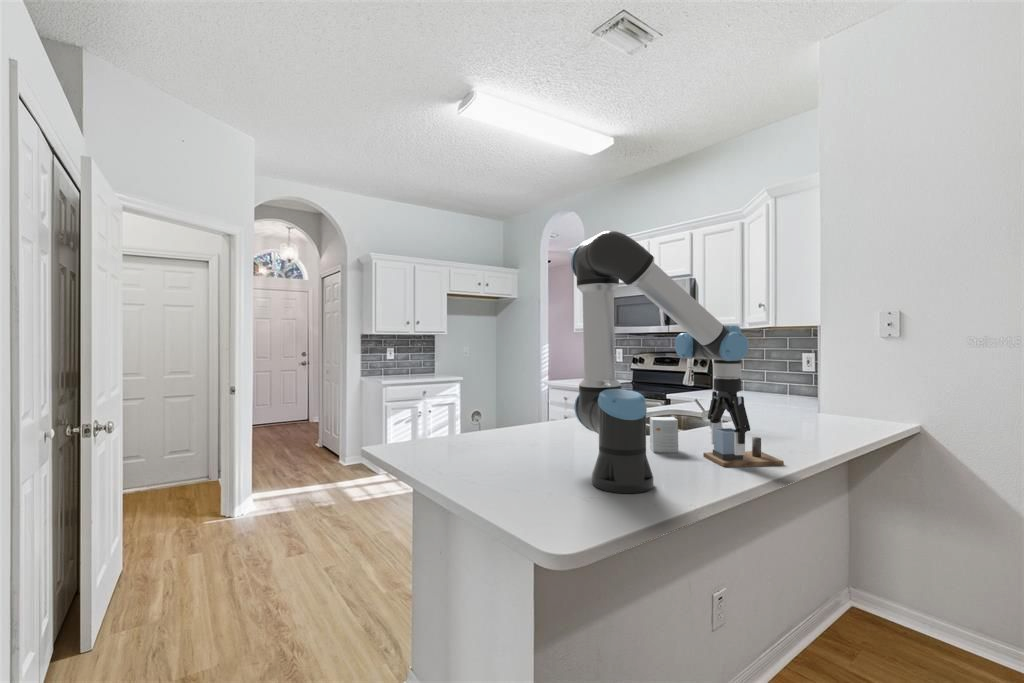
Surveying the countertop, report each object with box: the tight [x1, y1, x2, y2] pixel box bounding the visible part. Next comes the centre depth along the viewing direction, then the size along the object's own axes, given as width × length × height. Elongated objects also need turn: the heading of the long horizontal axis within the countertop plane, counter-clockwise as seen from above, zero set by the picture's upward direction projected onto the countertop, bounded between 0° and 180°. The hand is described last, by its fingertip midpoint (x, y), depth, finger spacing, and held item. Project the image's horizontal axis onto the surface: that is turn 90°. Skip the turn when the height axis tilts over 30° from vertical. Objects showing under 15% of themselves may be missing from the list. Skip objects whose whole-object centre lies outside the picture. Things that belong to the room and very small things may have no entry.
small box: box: [649, 416, 679, 453], centre depth 160 cm, size 8×6×10 cm
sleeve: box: [712, 427, 743, 460], centre depth 146 cm, size 6×6×8 cm
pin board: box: [702, 436, 785, 468], centre depth 146 cm, size 18×12×7 cm, turn 94°
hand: (727, 449), depth 146 cm, fingers open, 13 cm apart
